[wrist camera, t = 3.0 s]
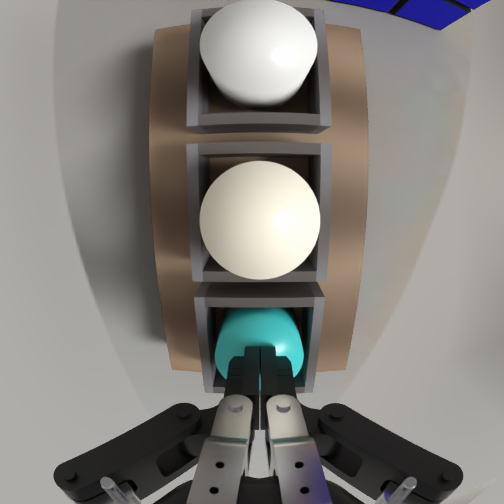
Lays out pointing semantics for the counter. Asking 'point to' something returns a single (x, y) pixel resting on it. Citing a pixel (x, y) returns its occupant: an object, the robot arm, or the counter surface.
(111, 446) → the robot arm
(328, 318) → the button board
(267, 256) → the cream button
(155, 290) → the counter surface
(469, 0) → the puzzle cube
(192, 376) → the counter surface
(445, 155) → the counter surface
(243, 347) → the teal button
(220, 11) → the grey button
